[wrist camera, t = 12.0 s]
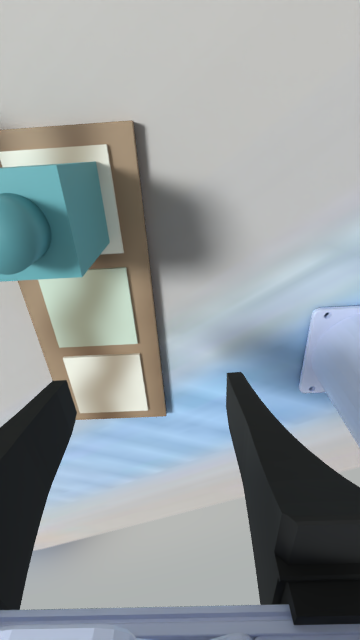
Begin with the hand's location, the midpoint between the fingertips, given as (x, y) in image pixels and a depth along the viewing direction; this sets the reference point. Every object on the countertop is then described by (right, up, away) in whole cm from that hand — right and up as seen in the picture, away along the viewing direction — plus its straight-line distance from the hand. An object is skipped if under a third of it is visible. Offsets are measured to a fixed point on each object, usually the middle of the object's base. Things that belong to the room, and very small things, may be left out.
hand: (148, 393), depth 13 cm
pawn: (-5, +10, +4) cm, 12 cm away
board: (-5, +4, +8) cm, 11 cm away
